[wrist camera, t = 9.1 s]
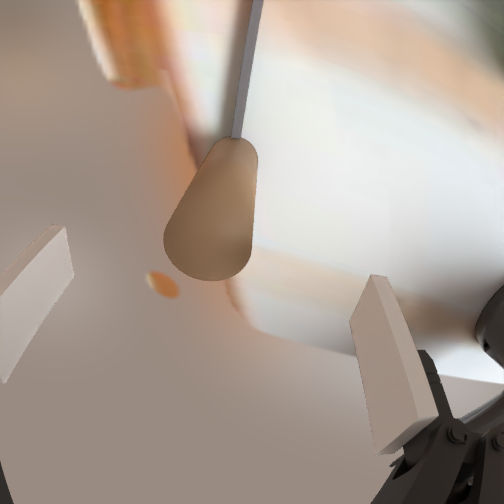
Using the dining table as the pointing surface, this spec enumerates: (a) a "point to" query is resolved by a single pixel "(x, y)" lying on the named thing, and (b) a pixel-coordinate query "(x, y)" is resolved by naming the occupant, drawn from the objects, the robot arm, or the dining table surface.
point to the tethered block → (220, 196)
